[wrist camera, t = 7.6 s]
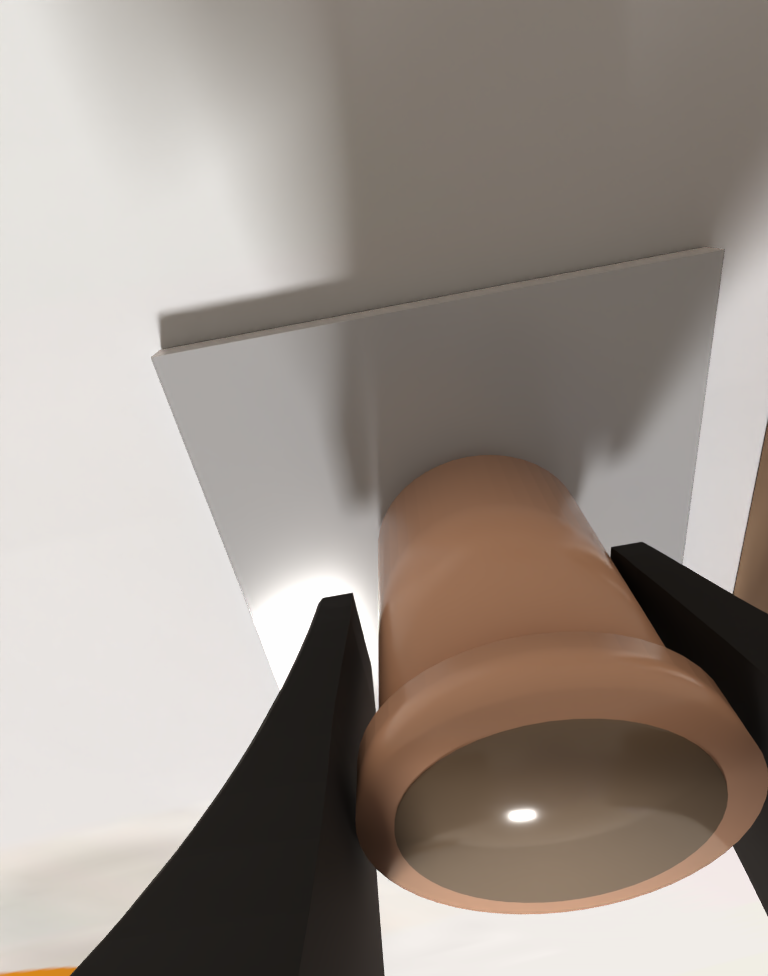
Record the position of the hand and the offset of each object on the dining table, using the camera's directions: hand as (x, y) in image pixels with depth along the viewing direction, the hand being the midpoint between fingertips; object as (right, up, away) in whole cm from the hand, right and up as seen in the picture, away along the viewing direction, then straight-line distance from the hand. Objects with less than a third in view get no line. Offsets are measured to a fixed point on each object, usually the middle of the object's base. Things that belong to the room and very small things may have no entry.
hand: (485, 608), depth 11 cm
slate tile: (0, +1, +3) cm, 3 cm away
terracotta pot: (0, +1, +2) cm, 2 cm away
